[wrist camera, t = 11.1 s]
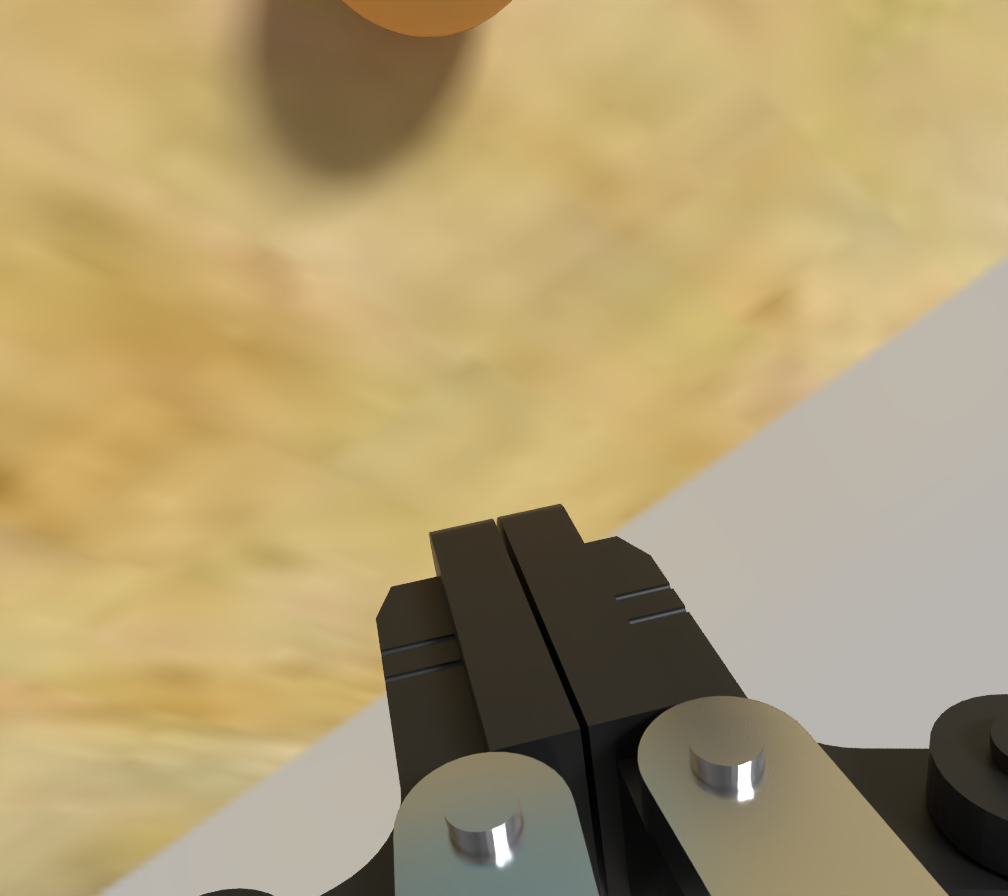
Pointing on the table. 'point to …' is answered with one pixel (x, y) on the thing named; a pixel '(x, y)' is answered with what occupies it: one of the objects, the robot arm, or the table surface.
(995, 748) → the robot arm
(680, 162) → the table surface
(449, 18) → the ball
